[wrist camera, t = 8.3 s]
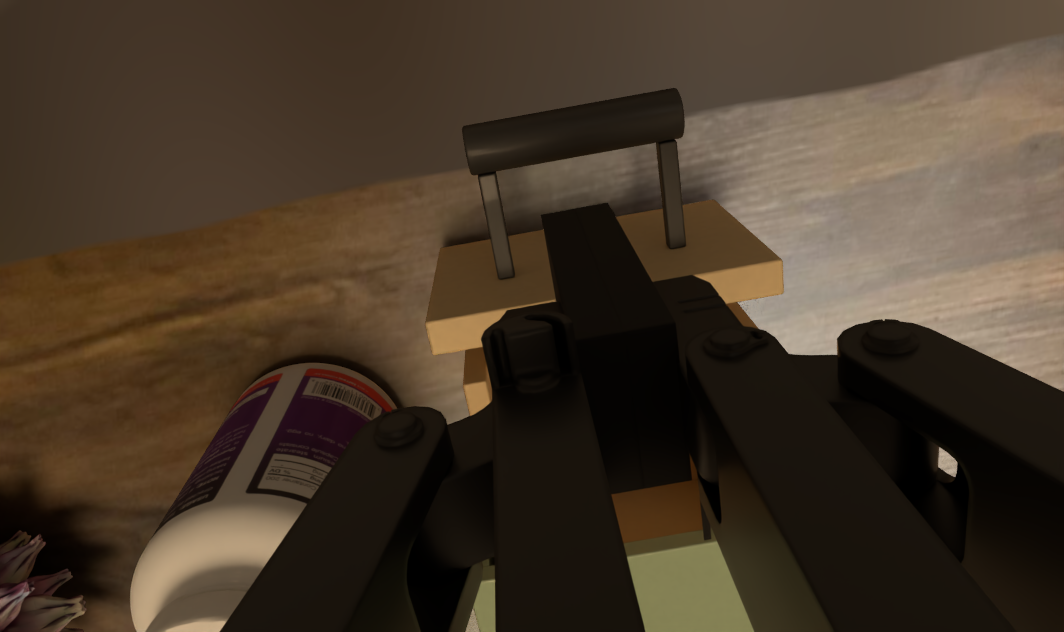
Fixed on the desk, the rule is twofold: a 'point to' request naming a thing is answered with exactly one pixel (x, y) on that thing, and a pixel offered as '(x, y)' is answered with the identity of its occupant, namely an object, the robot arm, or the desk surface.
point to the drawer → (657, 237)
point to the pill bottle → (248, 493)
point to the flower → (32, 591)
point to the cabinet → (663, 586)
